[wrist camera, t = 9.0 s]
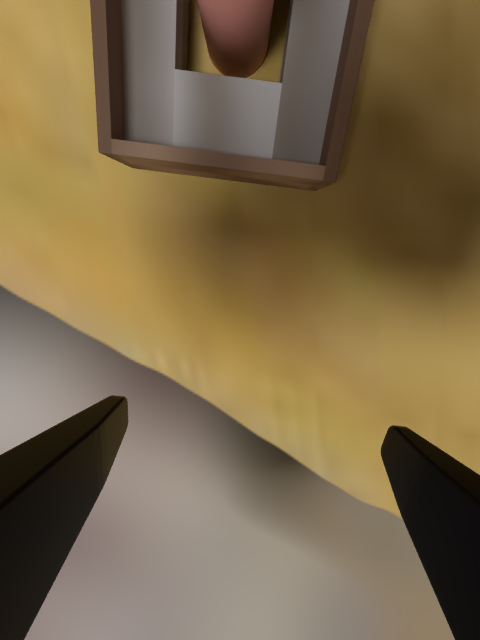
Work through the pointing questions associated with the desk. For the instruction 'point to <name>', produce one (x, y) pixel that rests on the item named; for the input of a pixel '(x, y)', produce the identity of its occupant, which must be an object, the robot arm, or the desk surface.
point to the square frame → (226, 95)
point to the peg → (236, 34)
